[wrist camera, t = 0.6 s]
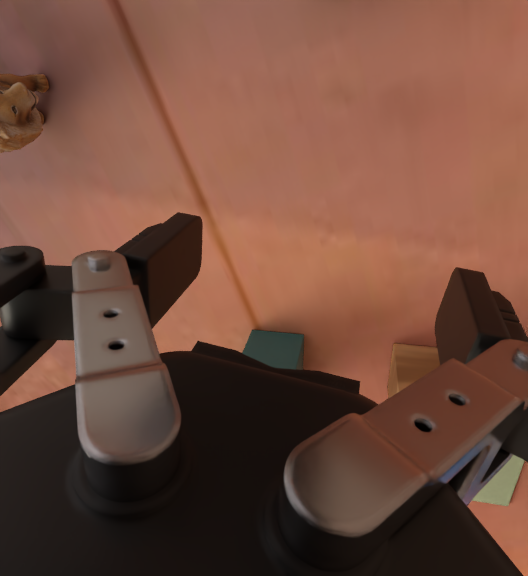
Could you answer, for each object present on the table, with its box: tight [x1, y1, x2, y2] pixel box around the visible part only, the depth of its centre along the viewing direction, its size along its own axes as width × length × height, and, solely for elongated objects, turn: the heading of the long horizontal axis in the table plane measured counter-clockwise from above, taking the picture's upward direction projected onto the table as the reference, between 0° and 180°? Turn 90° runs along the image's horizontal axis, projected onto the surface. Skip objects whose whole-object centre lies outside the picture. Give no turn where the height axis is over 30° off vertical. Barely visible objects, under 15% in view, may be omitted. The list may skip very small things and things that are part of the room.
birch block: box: [387, 343, 440, 398], centre depth 31 cm, size 5×5×10 cm
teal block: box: [242, 330, 304, 370], centre depth 34 cm, size 5×5×10 cm
